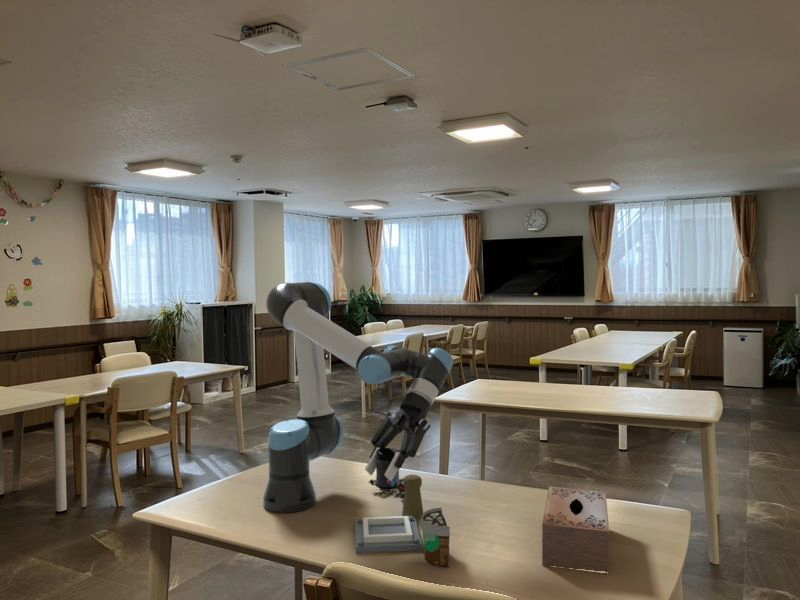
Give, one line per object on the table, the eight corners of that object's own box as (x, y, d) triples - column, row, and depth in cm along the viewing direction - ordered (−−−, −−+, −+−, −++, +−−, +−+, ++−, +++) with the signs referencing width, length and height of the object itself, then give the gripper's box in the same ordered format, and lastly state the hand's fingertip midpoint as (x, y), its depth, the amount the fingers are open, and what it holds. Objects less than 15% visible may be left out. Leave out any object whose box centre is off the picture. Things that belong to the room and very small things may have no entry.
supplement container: (383, 492, 151) (383, 456, 151) (371, 485, 156) (372, 450, 156) (403, 487, 154) (403, 452, 154) (391, 480, 159) (391, 446, 159)
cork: (421, 519, 167) (421, 480, 166) (399, 518, 168) (399, 478, 167) (425, 511, 173) (424, 472, 172) (404, 509, 174) (403, 471, 173)
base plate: (355, 525, 163) (355, 514, 163) (415, 523, 164) (414, 512, 164) (355, 553, 147) (355, 540, 147) (421, 550, 148) (421, 538, 148)
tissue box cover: (608, 575, 136) (609, 531, 136) (542, 566, 140) (542, 524, 140) (605, 529, 161) (605, 491, 160) (548, 522, 165) (549, 486, 164)
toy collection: (361, 491, 186) (364, 476, 186) (382, 480, 199) (384, 466, 199) (406, 505, 180) (408, 490, 179) (424, 493, 192) (426, 479, 192)
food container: (416, 547, 150) (416, 507, 149) (441, 546, 150) (441, 506, 150) (422, 572, 138) (422, 528, 137) (450, 570, 138) (449, 527, 138)
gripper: (453, 412, 160) (414, 491, 148) (398, 402, 172) (358, 474, 160) (441, 395, 156) (400, 475, 144) (386, 386, 168) (343, 459, 156)
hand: (378, 475), depth 152 cm, fingers closed on supplement container, 6 cm apart
